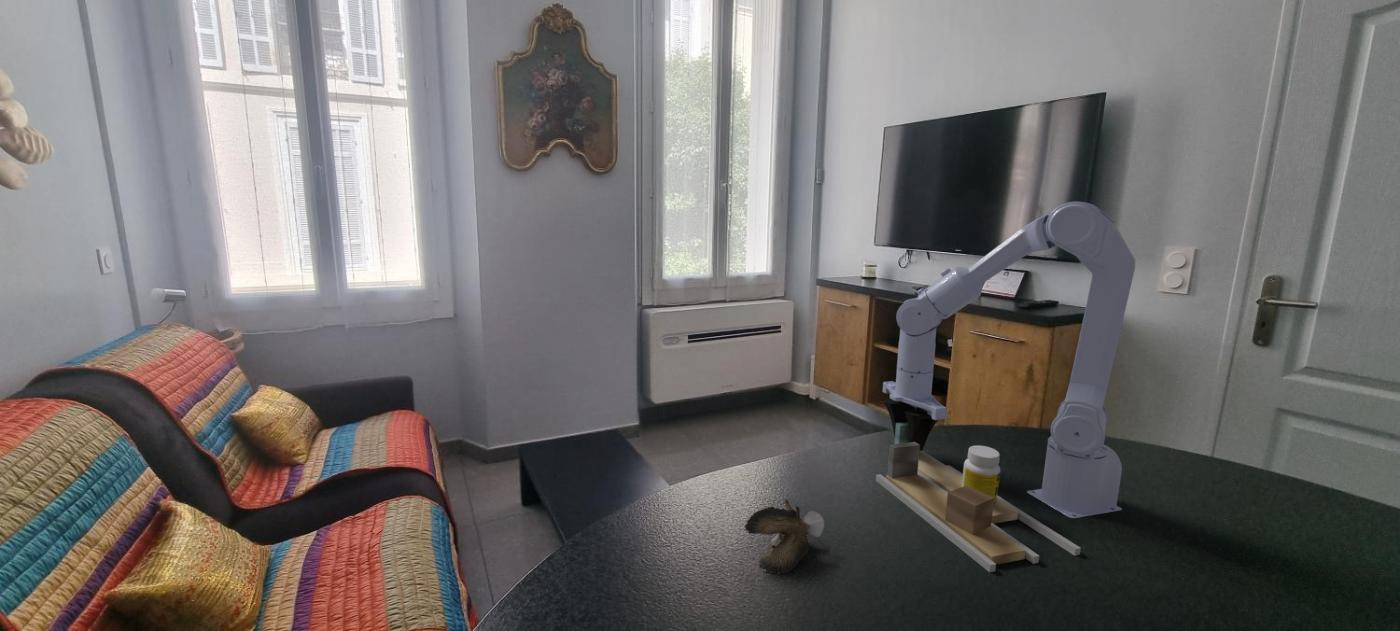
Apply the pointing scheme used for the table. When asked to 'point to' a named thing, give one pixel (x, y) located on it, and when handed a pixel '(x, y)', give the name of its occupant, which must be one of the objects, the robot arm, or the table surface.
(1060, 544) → the lane board
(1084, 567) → the table surface
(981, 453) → the supplement bottle
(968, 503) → the walnut cube
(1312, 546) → the table surface
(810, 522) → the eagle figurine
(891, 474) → the gray handled wooden slider
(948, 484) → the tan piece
